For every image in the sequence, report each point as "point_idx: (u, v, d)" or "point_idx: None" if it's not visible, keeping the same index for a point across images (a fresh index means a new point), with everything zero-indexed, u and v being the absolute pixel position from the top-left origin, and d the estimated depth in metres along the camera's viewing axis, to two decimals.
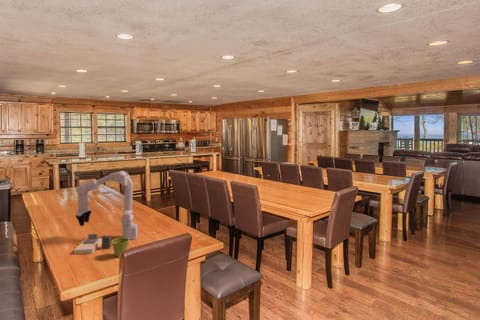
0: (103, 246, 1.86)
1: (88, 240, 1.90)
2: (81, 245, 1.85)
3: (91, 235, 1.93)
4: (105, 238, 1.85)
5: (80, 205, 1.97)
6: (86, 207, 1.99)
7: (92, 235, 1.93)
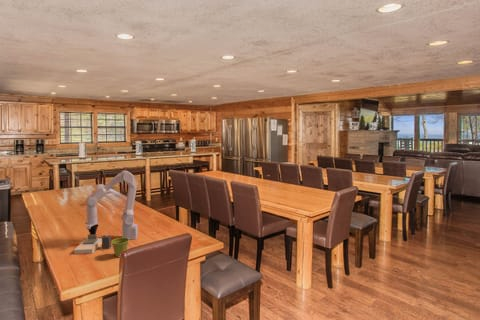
0: (103, 246, 1.86)
1: (87, 241, 1.89)
2: (81, 245, 1.85)
3: (90, 235, 1.92)
4: (105, 238, 1.85)
5: (89, 218, 1.90)
6: (96, 219, 1.92)
7: (91, 236, 1.92)
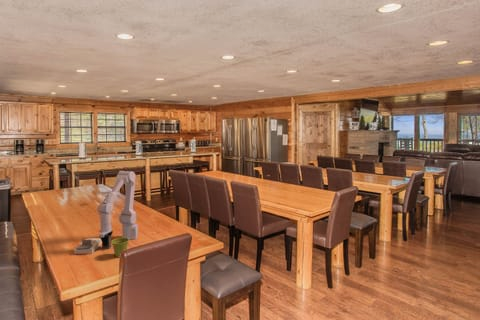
0: (103, 246, 1.86)
1: (82, 246, 1.80)
2: None
3: (85, 240, 1.83)
4: None
5: (103, 225, 1.84)
6: (109, 227, 1.86)
7: (86, 241, 1.84)
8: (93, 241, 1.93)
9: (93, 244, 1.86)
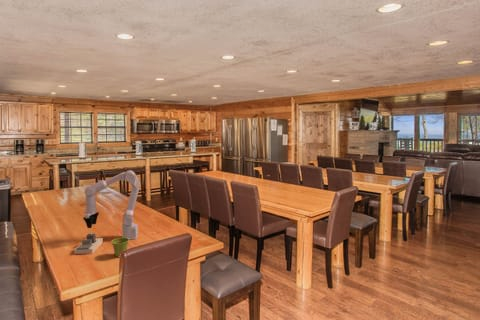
0: None
1: (82, 246, 1.80)
2: None
3: (85, 240, 1.83)
4: (90, 236, 1.88)
5: (88, 207, 1.93)
6: (94, 209, 1.95)
7: (86, 241, 1.84)
8: None
9: (93, 244, 1.86)
